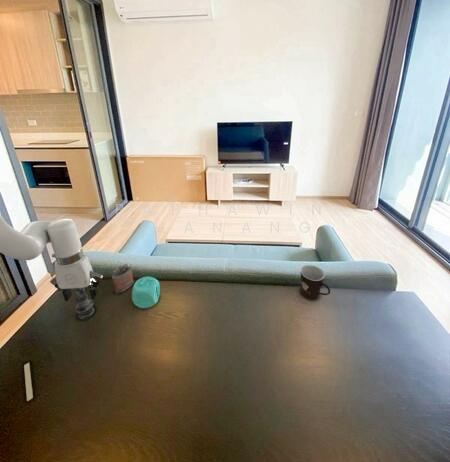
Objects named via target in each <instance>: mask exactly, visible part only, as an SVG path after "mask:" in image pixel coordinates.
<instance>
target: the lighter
mask: <svg viewBox="0 0 450 462" xmlns="http://www.w3.org/2000/svg"><path fill="white" fill-rule="evenodd" d="M111 280H112V282H113V286H114V293H115V294H117V295H118V294H120V293H122V292H125V291H126V290H127V289H129V288H131V287H132V286H133V285H134V284H135V280H134V277H133V272H132V266H129V264H127V263H126V264H123V265H120V266H119V267H118V268H116V269H115V270H113V271H112V275H111Z"/></svg>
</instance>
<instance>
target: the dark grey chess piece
mask: <svg viewBox="0 0 450 462" xmlns="http://www.w3.org/2000/svg"><path fill="white" fill-rule="evenodd" d="M85 289H86V288H85V287H84V288H76V290H75V296H76V298H75V300H76V302H77V303H76V305H75V307H74V311H75V312H76V313H77V317H78V319H80V320H86V319H89V318H90V317H92V316H93V315H94V313H95V311H96V310H95V308H94V299H92V298H91V299H90V298H88V293H86V290H85Z"/></svg>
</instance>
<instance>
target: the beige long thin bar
mask: <svg viewBox="0 0 450 462" xmlns="http://www.w3.org/2000/svg"><path fill="white" fill-rule="evenodd" d="M23 368H24V369H23V370H24V381H25V393H26V402H29V401H31V400H33V398H34V394H33V386H32V376H31V366H30V362H27V363H26V364H24V365H23Z"/></svg>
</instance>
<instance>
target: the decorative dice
mask: <svg viewBox="0 0 450 462" xmlns="http://www.w3.org/2000/svg"><path fill="white" fill-rule="evenodd" d="M131 291H132V292H131V300H132V303H133V304H134V305H135V306H136V307H138V308H140V309H148V308H151V307H153V306H154V305H156V304H157V303H158V301H159V298H160V291H161V285H160V281H159V280H158V279H156V278H155V277H154V276H143V277H140V278H139V279H137V280H136V281H135V282H134V284H133V287H132V290H131Z"/></svg>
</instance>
